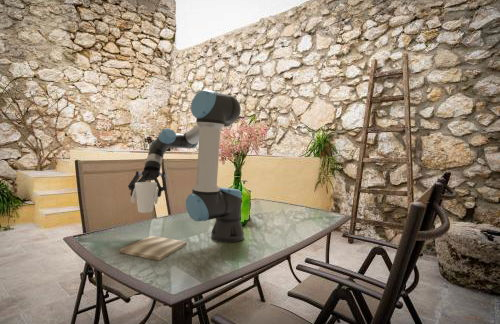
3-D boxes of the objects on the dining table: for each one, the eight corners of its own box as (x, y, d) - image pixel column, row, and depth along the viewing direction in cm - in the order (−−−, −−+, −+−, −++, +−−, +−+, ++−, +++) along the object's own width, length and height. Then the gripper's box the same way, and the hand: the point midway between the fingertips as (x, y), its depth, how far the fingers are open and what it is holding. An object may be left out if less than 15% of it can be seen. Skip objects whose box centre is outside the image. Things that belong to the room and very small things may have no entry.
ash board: (186, 244, 113) (186, 241, 113) (159, 260, 96) (159, 257, 96) (151, 238, 119) (151, 235, 119) (119, 252, 102) (119, 249, 102)
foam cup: (148, 214, 118) (149, 184, 117) (130, 212, 120) (130, 183, 119) (160, 209, 127) (160, 182, 127) (142, 208, 129) (143, 181, 128)
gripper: (176, 170, 139) (170, 206, 124) (132, 169, 137) (120, 206, 121) (174, 160, 134) (168, 197, 119) (128, 159, 131) (115, 196, 116)
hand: (143, 201), depth 120 cm, fingers closed on foam cup, 9 cm apart
